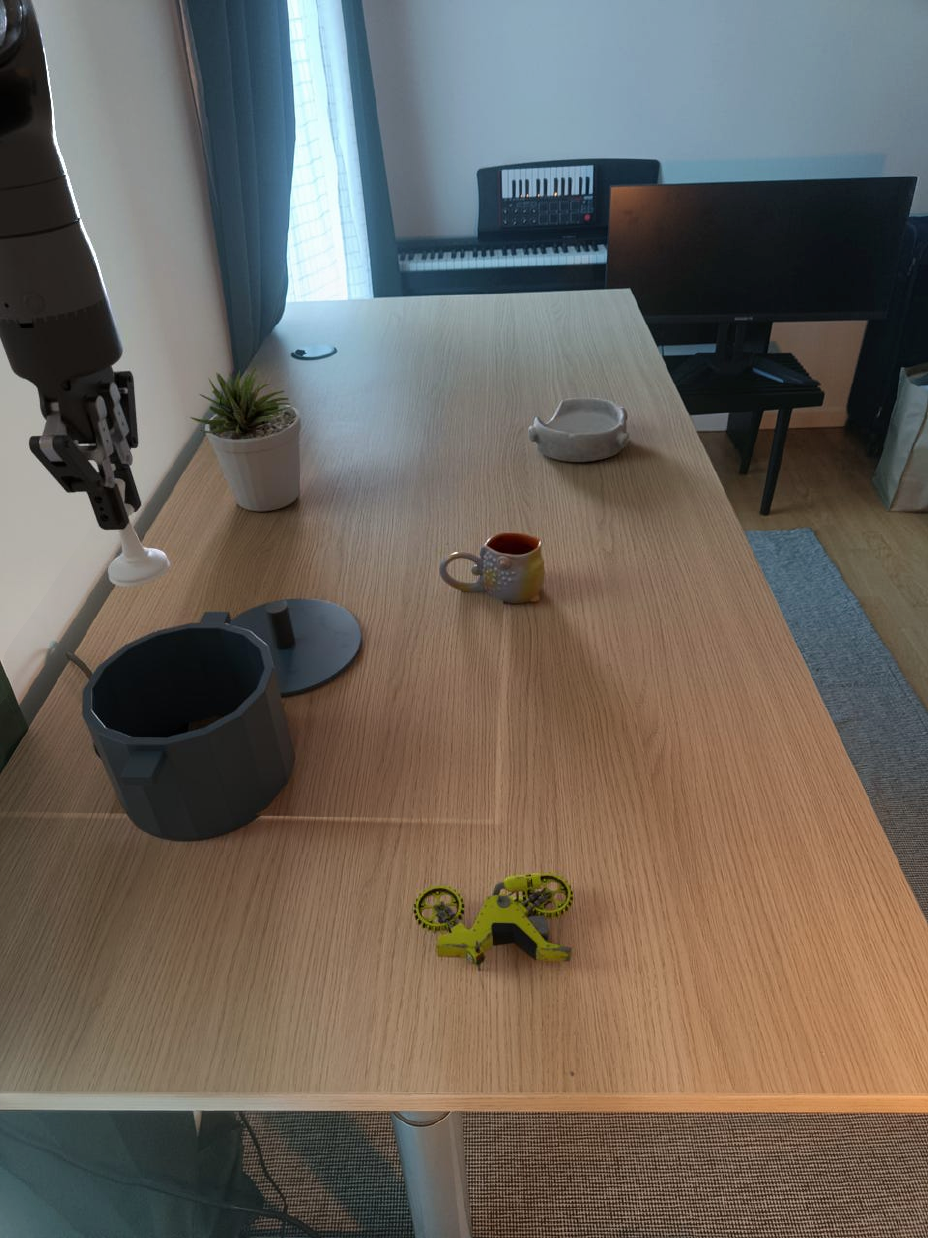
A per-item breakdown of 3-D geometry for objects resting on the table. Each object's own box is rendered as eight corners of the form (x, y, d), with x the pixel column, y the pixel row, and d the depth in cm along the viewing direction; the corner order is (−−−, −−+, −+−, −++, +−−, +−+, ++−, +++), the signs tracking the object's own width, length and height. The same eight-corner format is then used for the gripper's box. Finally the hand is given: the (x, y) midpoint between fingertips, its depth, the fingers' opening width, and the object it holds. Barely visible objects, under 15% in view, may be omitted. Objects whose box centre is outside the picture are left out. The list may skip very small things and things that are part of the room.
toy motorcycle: (568, 856, 66) (587, 939, 60) (567, 886, 68) (586, 969, 63) (410, 874, 65) (415, 960, 60) (414, 904, 68) (420, 989, 62)
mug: (542, 572, 104) (542, 524, 100) (546, 606, 98) (547, 556, 94) (442, 577, 104) (438, 529, 100) (440, 610, 99) (436, 561, 95)
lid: (187, 702, 88) (172, 656, 85) (232, 606, 101) (221, 563, 98) (348, 702, 87) (340, 657, 83) (373, 605, 100) (367, 562, 97)
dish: (523, 461, 127) (522, 429, 124) (547, 422, 138) (547, 392, 135) (621, 471, 123) (623, 439, 120) (638, 431, 134) (640, 400, 131)
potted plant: (205, 493, 124) (170, 356, 113) (297, 469, 129) (272, 335, 117) (228, 532, 115) (192, 387, 103) (326, 504, 120) (302, 362, 108)
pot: (81, 865, 72) (32, 769, 65) (166, 696, 89) (135, 605, 82) (264, 869, 71) (234, 771, 64) (315, 697, 88) (296, 604, 81)
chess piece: (97, 584, 71) (56, 474, 65) (129, 552, 75) (93, 445, 69) (151, 590, 70) (114, 478, 64) (180, 557, 74) (148, 448, 68)
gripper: (40, 270, 65) (109, 479, 75) (-60, 332, 54) (37, 567, 64) (137, 266, 64) (194, 477, 75) (57, 328, 53) (136, 565, 63)
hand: (121, 518), depth 69 cm, fingers closed on chess piece
